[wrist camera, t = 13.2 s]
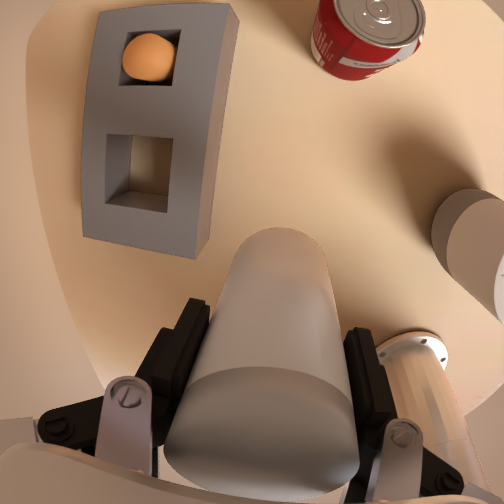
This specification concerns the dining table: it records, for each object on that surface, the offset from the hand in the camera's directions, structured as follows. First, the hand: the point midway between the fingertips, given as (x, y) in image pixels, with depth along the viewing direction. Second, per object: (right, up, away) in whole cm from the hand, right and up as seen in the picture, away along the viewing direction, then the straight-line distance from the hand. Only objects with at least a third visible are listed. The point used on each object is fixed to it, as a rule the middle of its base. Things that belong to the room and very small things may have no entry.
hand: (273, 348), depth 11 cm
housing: (-10, +15, +17) cm, 25 cm away
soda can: (+8, +22, +12) cm, 26 cm away
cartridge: (+1, +2, +5) cm, 6 cm away
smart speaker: (+21, +6, +17) cm, 28 cm away
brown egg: (-9, +21, +13) cm, 26 cm away
